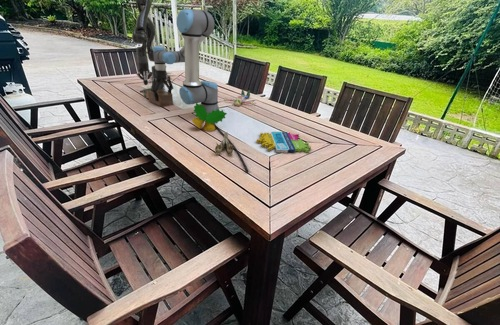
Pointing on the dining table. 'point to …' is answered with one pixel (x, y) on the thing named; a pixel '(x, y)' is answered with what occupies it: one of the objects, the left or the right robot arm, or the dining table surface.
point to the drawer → (145, 92)
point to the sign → (283, 142)
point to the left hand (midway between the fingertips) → (145, 84)
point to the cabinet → (161, 98)
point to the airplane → (166, 75)
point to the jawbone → (224, 145)
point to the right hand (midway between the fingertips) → (163, 99)
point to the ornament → (207, 117)
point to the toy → (241, 99)
